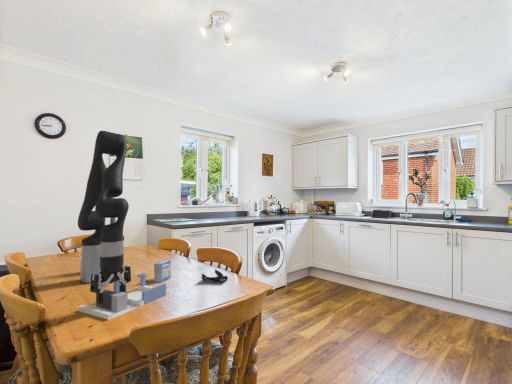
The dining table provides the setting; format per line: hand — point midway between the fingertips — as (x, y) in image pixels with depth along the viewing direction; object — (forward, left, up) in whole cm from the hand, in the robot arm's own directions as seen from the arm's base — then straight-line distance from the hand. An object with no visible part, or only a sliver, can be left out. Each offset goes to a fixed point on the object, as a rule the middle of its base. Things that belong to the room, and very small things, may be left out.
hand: (111, 299), depth 98 cm
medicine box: (-10, +34, -4) cm, 36 cm away
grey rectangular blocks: (0, 0, -3) cm, 3 cm away
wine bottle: (-48, +35, -4) cm, 59 cm away
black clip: (+15, +44, -4) cm, 46 cm away
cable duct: (0, +6, -3) cm, 7 cm away
